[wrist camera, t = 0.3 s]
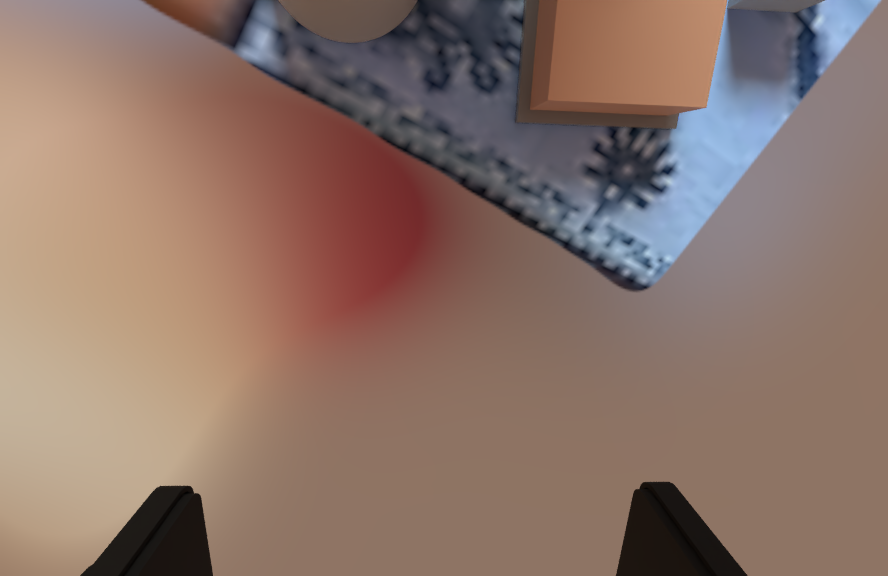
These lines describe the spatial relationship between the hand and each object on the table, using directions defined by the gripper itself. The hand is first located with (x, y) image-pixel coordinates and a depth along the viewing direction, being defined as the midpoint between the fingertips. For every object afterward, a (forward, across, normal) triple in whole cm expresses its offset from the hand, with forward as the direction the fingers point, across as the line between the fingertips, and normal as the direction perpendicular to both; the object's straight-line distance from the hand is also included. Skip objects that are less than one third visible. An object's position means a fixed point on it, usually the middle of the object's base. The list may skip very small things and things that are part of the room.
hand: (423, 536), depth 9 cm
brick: (+30, -15, -17) cm, 38 cm away
